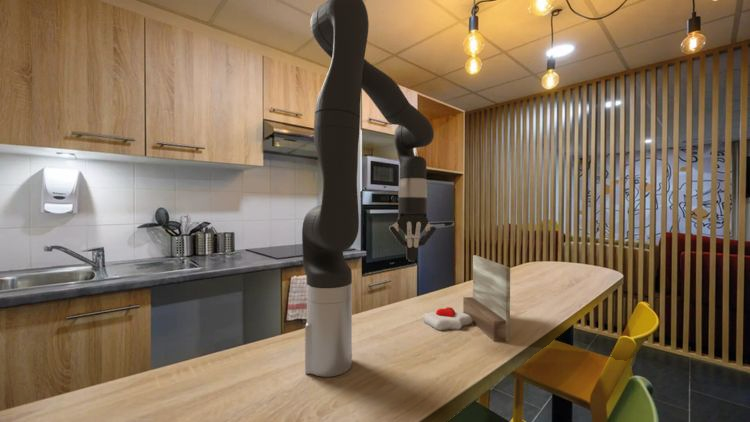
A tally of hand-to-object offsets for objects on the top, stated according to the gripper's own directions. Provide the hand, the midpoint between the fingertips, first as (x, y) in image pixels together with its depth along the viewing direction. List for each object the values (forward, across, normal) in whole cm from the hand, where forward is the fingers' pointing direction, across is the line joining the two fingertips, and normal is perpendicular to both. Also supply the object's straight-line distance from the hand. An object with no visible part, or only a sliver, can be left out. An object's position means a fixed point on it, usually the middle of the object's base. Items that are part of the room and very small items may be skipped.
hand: (411, 261), depth 83 cm
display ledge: (+18, +20, +1) cm, 27 cm away
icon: (+19, +12, +3) cm, 22 cm away
